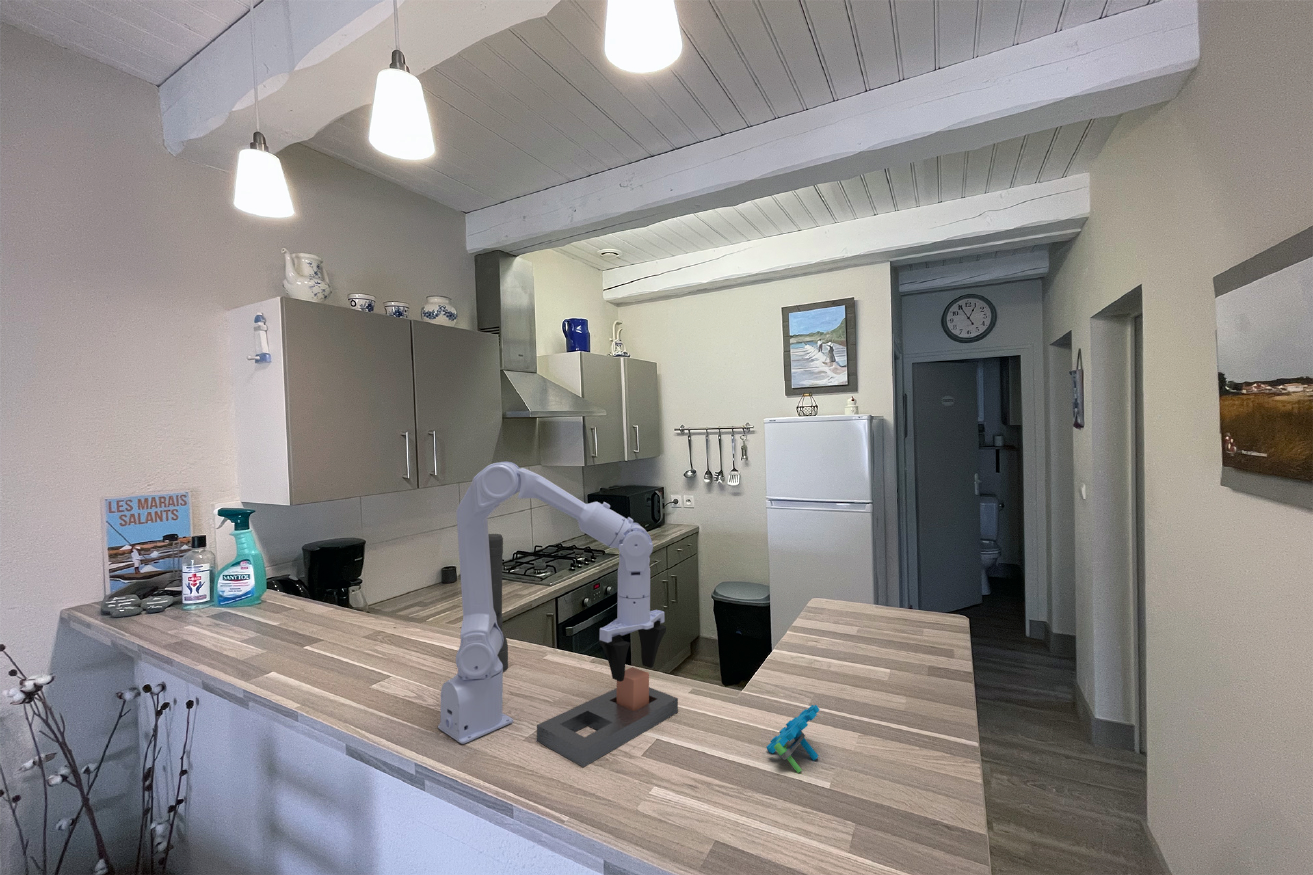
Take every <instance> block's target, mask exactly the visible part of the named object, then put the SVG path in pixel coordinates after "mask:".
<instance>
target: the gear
mask: <svg viewBox="0 0 1313 875" xmlns="http://www.w3.org/2000/svg"><path fill="white" fill-rule="evenodd" d="M819 711H820V708H819V706H818V705H817V704H815V705H814V704H811V705H810V706H809V707H807V708H806V709H804V710H802V711H801V712H800V714H799V715H797V716H795V717H794V718H793V719H791V720H789V721H787V723H786V724H785V726H784V727H782V728H781V730H780V731H779V734H778V735H775V736H774V737H773V738H772V739H771V740H770V741H769V742H770V743H768V744H767V746H766V750H767V751H768V752H769V753H770V754H774V753H775V752H777V754H778V755H779V756H780V757H781V759H782V760H784V761H785V760H787V761H788V762H789V764H790V766H791V767H792V768H793V769H794V771H796V773H797V774H799V773H800V772H801V771H802V768H801V767H800V765H799V764H798V763H797V762H796V760H795V759H794V758H793V757H792V754H793V752H795V750H796V748H797V747H798V746H799V745H801V746H802V748H803V749H804V750H805V752H806V753H807V754H808V756H809V758H811V759H812V761H815V760H817V759H818V757H819V754H818V753H817V752H816V750H815V749H814V748H813V747H812V745H810V743H809V742H808V741H807V739H806V738H805V737H806V734H804V732H803V730H804V729H806V728H807V726H809V724H808V722H809V721H810V722H811V721H812V720H814V719H815V718H816V717H817V715H818V713H819ZM792 740H794V741H793V742H792ZM788 742H792V743H791V745H790V746H789V747H788V744H787V743H788ZM787 747H788V748H787Z"/></svg>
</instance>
